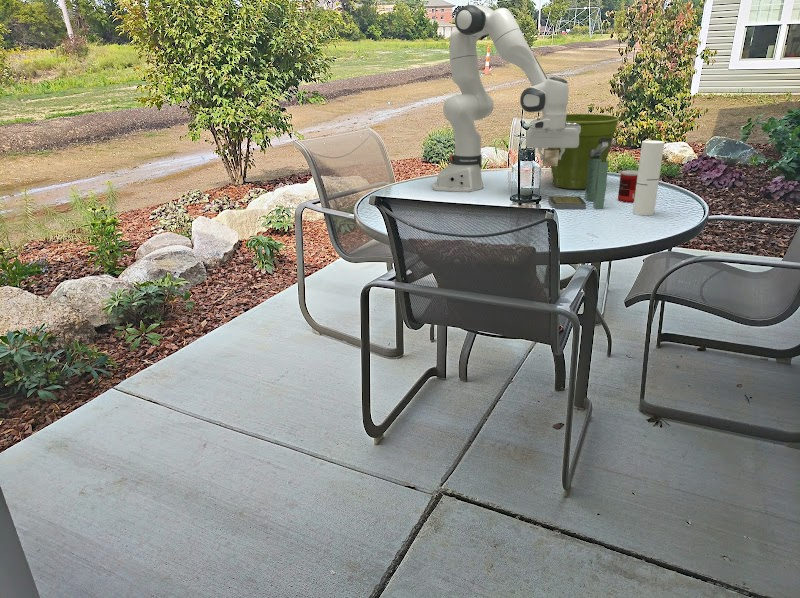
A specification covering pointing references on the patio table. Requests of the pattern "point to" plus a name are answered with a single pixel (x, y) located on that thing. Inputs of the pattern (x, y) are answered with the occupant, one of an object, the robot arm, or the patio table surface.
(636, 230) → the patio table surface
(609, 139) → the press lever
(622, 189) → the canned food
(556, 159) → the block
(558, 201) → the press base
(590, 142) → the plant pot
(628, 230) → the patio table surface
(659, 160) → the cylindrical container
